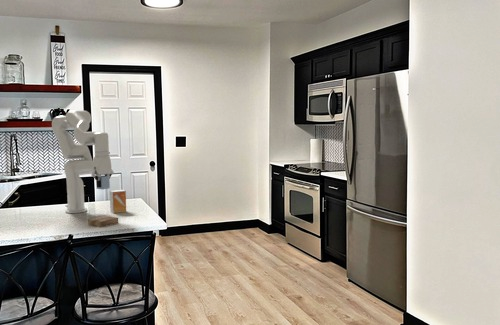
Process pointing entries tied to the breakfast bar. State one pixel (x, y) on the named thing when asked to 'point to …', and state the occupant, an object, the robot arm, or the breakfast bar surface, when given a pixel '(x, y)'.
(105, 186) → the blue block
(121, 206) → the small box
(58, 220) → the breakfast bar surface
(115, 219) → the walnut slab
